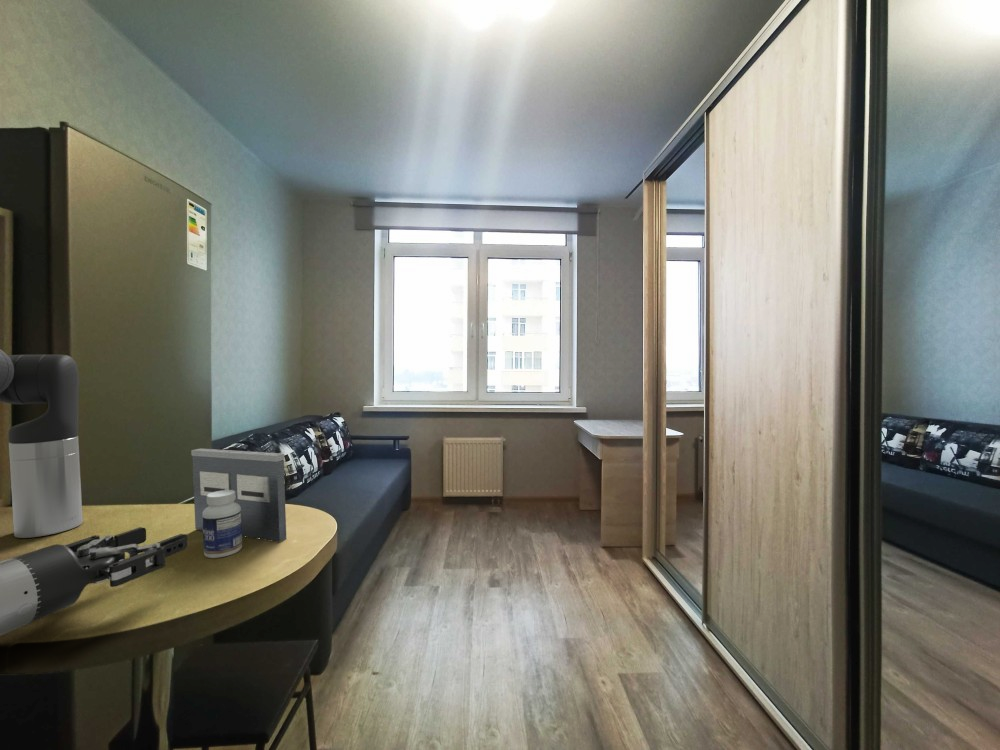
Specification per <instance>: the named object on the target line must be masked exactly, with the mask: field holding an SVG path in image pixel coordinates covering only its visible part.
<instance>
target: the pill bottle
mask: <svg viewBox="0 0 1000 750" xmlns="http://www.w3.org/2000/svg"><path fill="white" fill-rule="evenodd" d="M235 499H236V494H235V491H234V490H222V491H216V492H212V493H210V494H208V495H207V504H208V505H209V507H207V508H205V509H204V511H203V513H202V520H203V531H202V538H203V539H202V540H203V554H204V556H205V557H206V558H210V559H217V558H219V559H220V558H223V557H228V556H231V555H234V554H236V553H237V552H239V551H240V550H241V549H242V548H243V537H242V526H241V507H240V505H239V504H238V503H235V502H234V501H235Z"/></svg>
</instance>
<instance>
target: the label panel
mask: <svg viewBox="0 0 1000 750" xmlns="http://www.w3.org/2000/svg"><path fill="white" fill-rule="evenodd" d="M190 453H191V454H190V455H191V457H192V479H193V482H192V483H193V501H194V502H193V504H194V526H195V527H194V529H196V530H195V531H199V530H203V520H202V513H203V511H204V509H205V508H207V507H209V505H208V504H207V495H208V494H210V493H212V492H216V491H222V490H234V491H235V494H236V499H235V501H234V502H235V503H238V504H239V505H240V507H241V526H242V536H246V537H245V538H247V537H252V538H251V539H254V538H260V539H259V540H261V539H266V540H265V541H268V540H272V541H271V542H275V541H278V542H277V543H281V542H283V541H285V540H287V516H286V515H287V514H286V513H287V512H286V487H285V483H286V482H285V463H284V461H285V453H282V452H281V453H278V452H266V451H265V452H263V451H262V452H261V451H245V450H234V449H233V450H232V449H231V450H230V449H214V448H197V449H191V452H190Z"/></svg>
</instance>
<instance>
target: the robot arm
mask: <svg viewBox="0 0 1000 750" xmlns="http://www.w3.org/2000/svg"><path fill="white" fill-rule="evenodd" d="M79 374H80V373H79V369H78V365H77V363H76V362H75V359H73V357H71V356H70V355H66V354H11V355H8V354H7V353H6V352H5V351H4V350H2V349H1V348H0V403H5V404H11V405H34V404H36V405H37V404H48V406H47V410H46V411H45V413H43V414H41V415H40V416H38V417H36V418H34V419H31V420H28V421H25V422H22V423H18V424H15V425H13V426H11V427H10V428H9V429H8V432H7V433H8V435H7V436H8V453H9V466H10V468H9V469H10V484H11V485H10V486H11V488H10V489H11V504H12V523H13V524H12V525H13V536H14V537H15V538H19V539H20V538H21V539H27V538H28V539H29V538H36V537H37V538H39V537H43V536H49V535H54V534H59V533H62V532H65V531H68V530H72V529H74V528H77V527H79V526H81V525H82V524H83V507H82V505H83V504H82V503H83V502H82V501H83V500H82V488H81V487H82V483H81V465H80V447H79V445H80V444H79V419H80V418H79V415H80V414H79V390H80V375H79ZM100 536H101V535H99V534H98V535H97V534H96V535H92V536H89V537H86V538H83V539H80V540H77V541H74V542H71V543H68V544H66V545H64V544H52V545H49V546H45V547H43V548H39V549H36V550H33V551H30V552H27V553H24V554H21V555H17V556H14V557H12V558H8V559H5V560H1V561H0V636H3V635H5V634H7V633H10V632H12V631H15V630H16V629H19V628H21V627H23V626H26V625H28V624H31V623H33V622H35V621H38V620H40V619H42V618H45V617H47V616H49V615H52V614H54V613H56V612H59V611H61V610H64V609H66V608H69V607H71V606H72V605H74V604H75V603H76V602H77V601H78V600H79V598H80V597H81V595H82V593H83V591H84V589H85V588H86V587H87V586H88V585H91V584H99V583H103V582H104V583H105V582H107V581H108V580H109V586H110V587H111V588H115V587H119V586H121V585H124V584H126V583H129V582H131V581H134V580H136V579H138V578H141V577H143V576H146V575H148V574H151V573H153V572H155V571H158V570H161V569H162V568H165V567H166V558H168V557H171V556H174V555H176V554H178V553H181V552H182V551H185V550H186V549H188V535H187V534H185V533H179V534H177V535H176V534H175V535H174V536H171V537H169V538H166V539H163V540H160V541H158V542H157V541H156V543H155V542H154V543H151V544H145V545H140V544H143V543H145V542H146V541H147V529H146V528H145V527H142V526H139V527H136V528H134V529H130V530H128V531H123V532H121V533H118V534H115V535H113V534H112V535H109V534H107V535H105V536H102V537H100ZM126 553H127V554H128V555H129V557H127V558H126Z"/></svg>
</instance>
